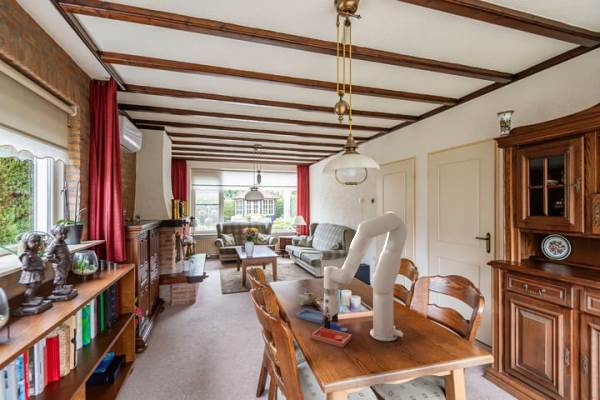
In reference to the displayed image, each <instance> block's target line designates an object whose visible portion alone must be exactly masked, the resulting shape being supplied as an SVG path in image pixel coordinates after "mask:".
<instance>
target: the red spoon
mask: <svg viewBox="0 0 600 400" xmlns="http://www.w3.org/2000/svg"><path fill="white" fill-rule="evenodd" d="M321 336H323V337H327V338H331V339H334V340H335V341H339V342H340V341H342V336H340V335H335V332H331V331H327V330H323V329H322V330H321Z"/></svg>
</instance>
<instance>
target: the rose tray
mask: <svg viewBox="0 0 600 400" xmlns="http://www.w3.org/2000/svg"><path fill="white" fill-rule="evenodd" d="M322 329H323V330H327V331H331V332H335V335H340V336H342V341H340V342H339V341H335V340H334V339H331V338H327V337H323V336H321V330H322ZM310 335H311V338H310V339H311V340H314V341H318V342H322V343H326V344H329V345H332V346H335V347H339V348H345V346H347V345H348V343H349V342H351V340H352V339H353V335H352V333H351V334H350V333H348V332H347V333H343V332H340V331H336V330H332V329H326V328H324V326H321V327H319V328H318V329H317V330H315V331H314V332H312V334H310Z"/></svg>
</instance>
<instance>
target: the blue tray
mask: <svg viewBox="0 0 600 400" xmlns="http://www.w3.org/2000/svg"><path fill="white" fill-rule="evenodd" d="M323 312H324V311H318V310H313V309H309V308H304V309H303V310H300V311H299V312H297V313H296V315H295V317H296V319H301V320H305V321H309V322H313V323H318V324H324V319H323ZM326 317H328V316H326Z"/></svg>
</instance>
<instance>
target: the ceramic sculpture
mask: <svg viewBox="0 0 600 400" xmlns="http://www.w3.org/2000/svg"><path fill="white" fill-rule="evenodd" d="M297 301H298V304H299V306H300V307H304V305H306V306H312V305H313V306H316V305H315V303H317V302H316V301H318V300H317V297H316V295H315V294H314V293H312V292H310V291H305V292H304V294H299V293H297Z"/></svg>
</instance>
